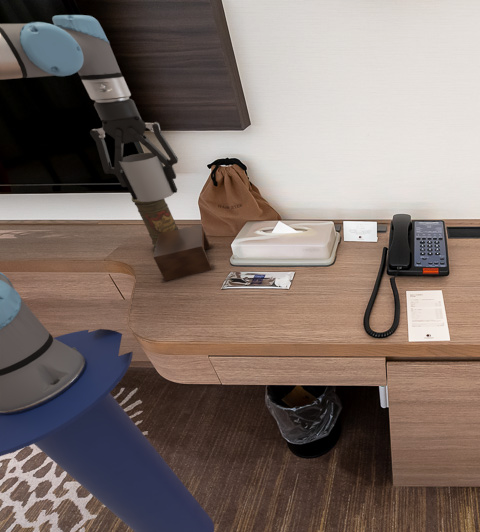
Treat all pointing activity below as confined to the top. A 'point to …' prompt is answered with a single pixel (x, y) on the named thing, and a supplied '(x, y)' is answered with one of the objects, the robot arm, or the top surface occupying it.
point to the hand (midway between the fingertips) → (156, 194)
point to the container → (156, 217)
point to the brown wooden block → (182, 252)
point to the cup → (146, 177)
